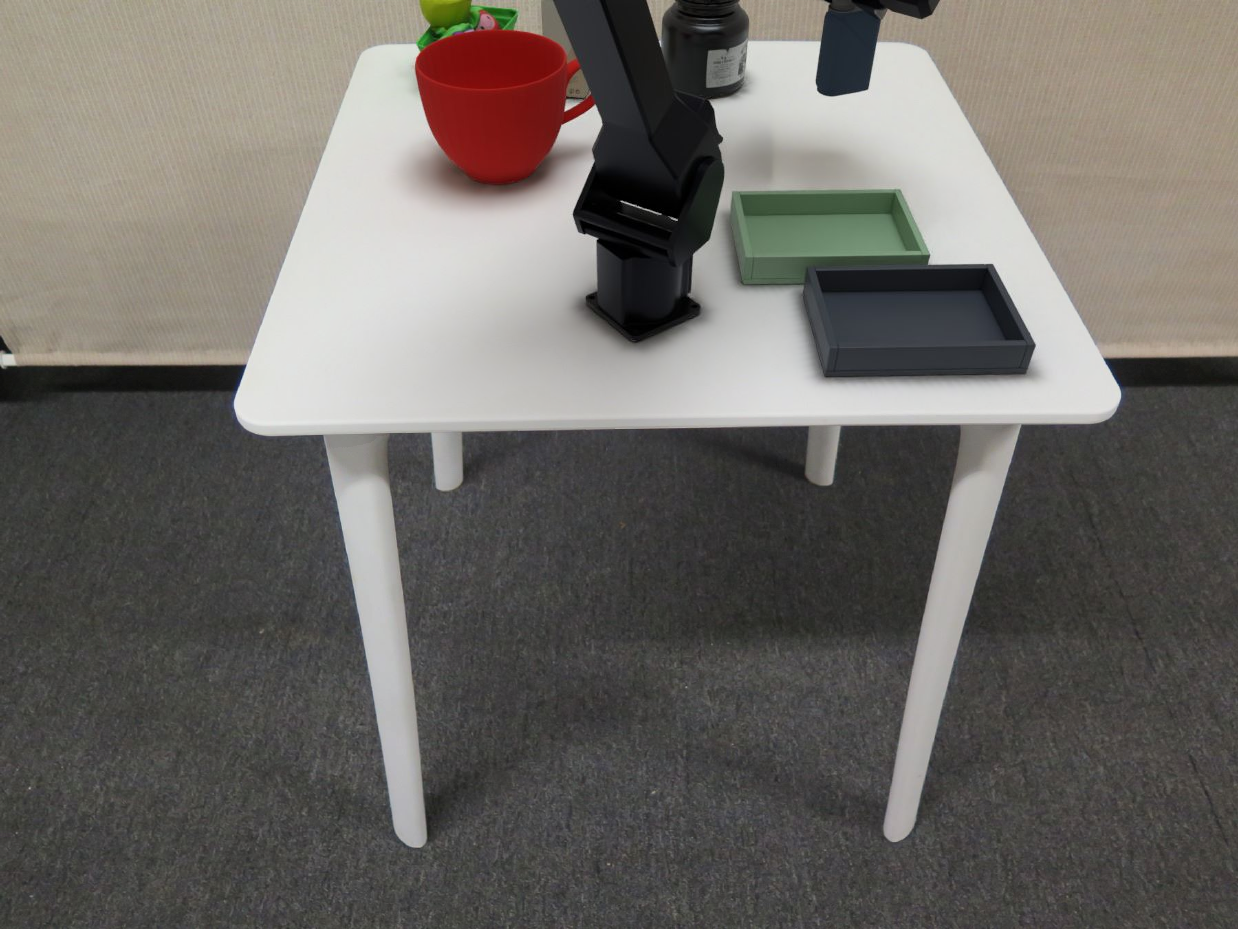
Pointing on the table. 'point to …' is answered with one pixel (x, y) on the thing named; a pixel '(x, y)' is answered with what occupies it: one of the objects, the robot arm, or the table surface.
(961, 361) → the charcoal tray
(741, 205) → the sage tray
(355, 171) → the table surface
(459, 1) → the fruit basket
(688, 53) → the ink bottle
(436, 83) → the ceramic cup
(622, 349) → the table surface
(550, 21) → the box
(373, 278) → the table surface
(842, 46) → the vaping device
